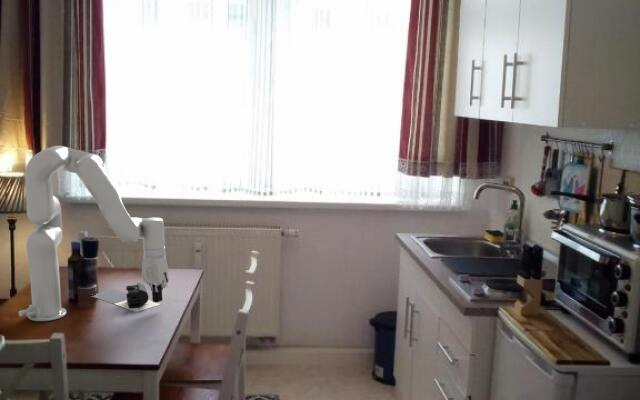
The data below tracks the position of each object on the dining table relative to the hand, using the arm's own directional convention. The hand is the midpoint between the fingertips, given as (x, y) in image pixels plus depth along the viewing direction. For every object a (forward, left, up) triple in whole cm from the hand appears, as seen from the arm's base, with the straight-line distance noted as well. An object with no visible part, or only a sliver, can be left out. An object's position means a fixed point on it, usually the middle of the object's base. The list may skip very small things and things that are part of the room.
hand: (157, 301), depth 242 cm
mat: (0, +26, -3) cm, 27 cm away
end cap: (0, +11, -4) cm, 12 cm away
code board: (0, +11, -3) cm, 12 cm away
